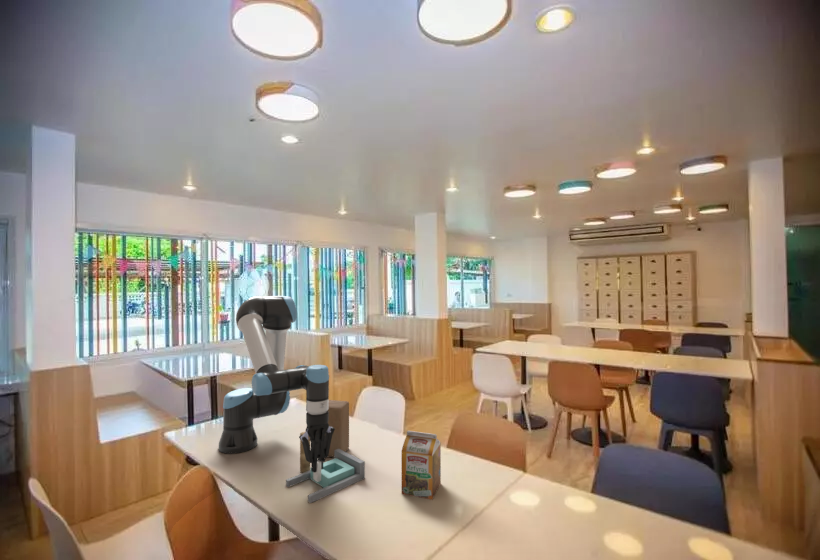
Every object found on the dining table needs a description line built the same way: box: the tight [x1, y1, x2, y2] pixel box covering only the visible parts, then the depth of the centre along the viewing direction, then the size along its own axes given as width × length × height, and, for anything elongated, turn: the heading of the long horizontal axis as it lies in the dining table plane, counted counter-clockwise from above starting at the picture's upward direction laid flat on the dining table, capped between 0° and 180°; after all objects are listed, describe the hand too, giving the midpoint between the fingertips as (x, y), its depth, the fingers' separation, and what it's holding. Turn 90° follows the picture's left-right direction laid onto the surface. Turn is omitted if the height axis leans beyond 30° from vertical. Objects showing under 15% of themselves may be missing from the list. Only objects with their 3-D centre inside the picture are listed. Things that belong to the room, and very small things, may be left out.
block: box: [325, 399, 350, 458], centre depth 162 cm, size 10×10×20 cm
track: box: [285, 449, 366, 504], centre depth 138 cm, size 16×22×6 cm
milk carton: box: [401, 430, 442, 501], centre depth 134 cm, size 11×11×19 cm
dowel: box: [299, 431, 311, 474], centre depth 146 cm, size 4×4×14 cm
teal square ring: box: [309, 458, 354, 489], centre depth 140 cm, size 11×11×4 cm
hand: (317, 479), depth 136 cm, fingers closed
